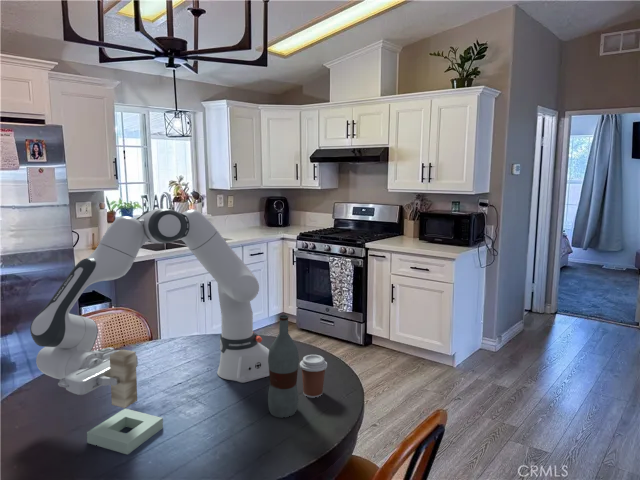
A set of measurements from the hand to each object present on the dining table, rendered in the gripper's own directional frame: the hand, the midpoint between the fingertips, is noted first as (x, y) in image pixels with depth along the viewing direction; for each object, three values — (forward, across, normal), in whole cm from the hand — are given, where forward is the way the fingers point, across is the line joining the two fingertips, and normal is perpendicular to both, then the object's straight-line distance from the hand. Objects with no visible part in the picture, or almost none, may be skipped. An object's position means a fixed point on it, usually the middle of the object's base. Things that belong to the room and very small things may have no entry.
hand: (126, 377), depth 123 cm
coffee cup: (+37, +43, +17) cm, 59 cm away
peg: (-1, 0, +8) cm, 8 cm away
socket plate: (-1, 0, +17) cm, 17 cm away
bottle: (+33, +28, +17) cm, 47 cm away
